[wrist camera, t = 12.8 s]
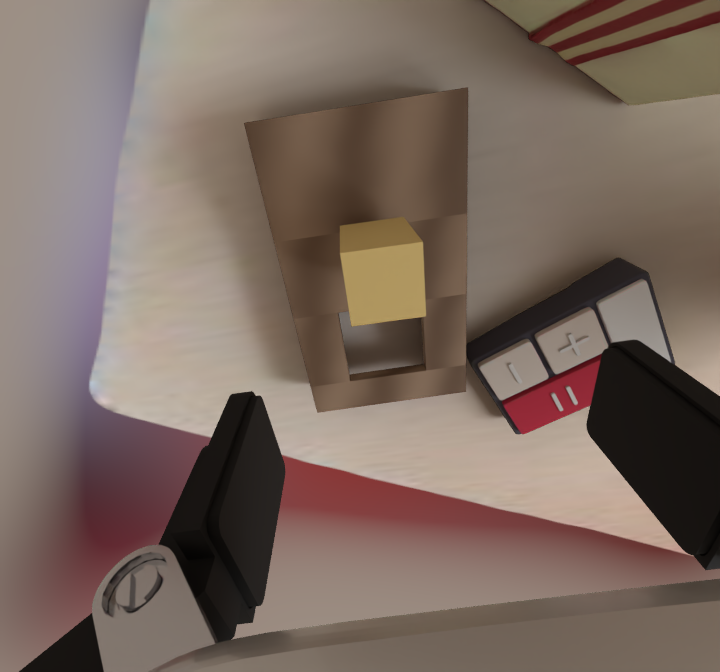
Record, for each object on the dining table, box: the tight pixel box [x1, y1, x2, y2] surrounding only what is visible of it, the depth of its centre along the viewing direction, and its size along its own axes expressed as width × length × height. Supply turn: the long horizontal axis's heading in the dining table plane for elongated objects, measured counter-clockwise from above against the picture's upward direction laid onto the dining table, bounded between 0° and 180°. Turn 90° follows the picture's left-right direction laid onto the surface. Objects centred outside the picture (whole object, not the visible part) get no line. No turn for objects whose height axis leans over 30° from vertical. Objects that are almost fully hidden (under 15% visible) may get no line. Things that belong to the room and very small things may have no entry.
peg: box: [340, 217, 426, 327], centre depth 23 cm, size 5×5×12 cm
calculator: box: [466, 258, 675, 434], centre depth 33 cm, size 11×4×15 cm
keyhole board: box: [244, 88, 468, 413], centre depth 28 cm, size 13×22×4 cm, turn 8°
